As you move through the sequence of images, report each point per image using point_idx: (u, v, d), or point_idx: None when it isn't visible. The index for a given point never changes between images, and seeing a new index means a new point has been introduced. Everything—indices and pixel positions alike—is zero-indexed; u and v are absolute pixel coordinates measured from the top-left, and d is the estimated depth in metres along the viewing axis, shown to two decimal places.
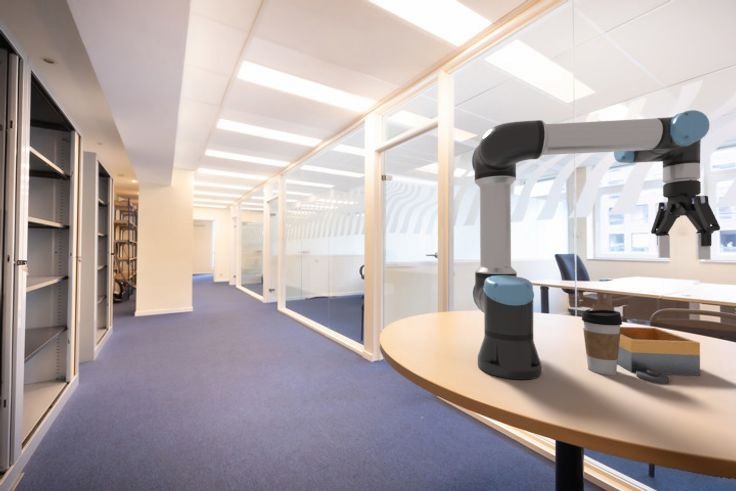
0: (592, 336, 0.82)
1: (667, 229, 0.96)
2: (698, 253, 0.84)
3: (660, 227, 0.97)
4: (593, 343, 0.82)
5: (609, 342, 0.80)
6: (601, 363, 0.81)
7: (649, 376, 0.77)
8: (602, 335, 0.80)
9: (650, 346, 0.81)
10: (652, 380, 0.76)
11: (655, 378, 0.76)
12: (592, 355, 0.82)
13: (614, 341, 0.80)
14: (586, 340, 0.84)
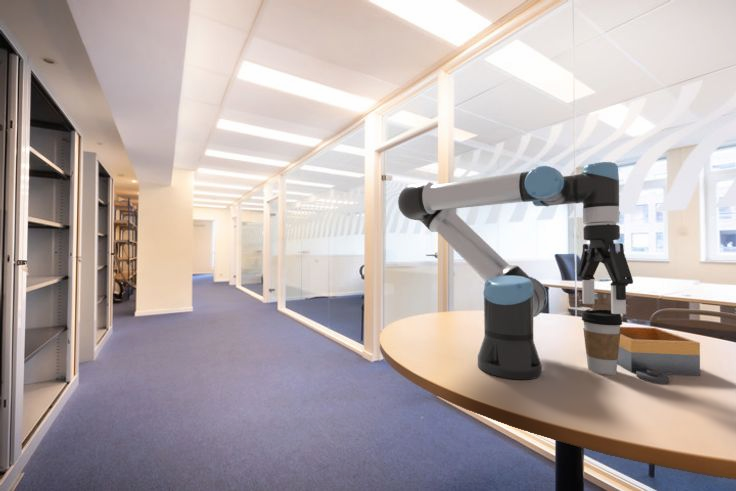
0: (592, 336, 0.82)
1: (591, 273, 0.89)
2: (613, 307, 0.76)
3: (584, 271, 0.89)
4: (593, 343, 0.82)
5: (609, 342, 0.80)
6: (601, 363, 0.81)
7: (649, 376, 0.77)
8: (602, 335, 0.80)
9: (650, 346, 0.81)
10: (652, 380, 0.76)
11: (655, 378, 0.76)
12: (592, 355, 0.82)
13: (614, 341, 0.80)
14: (586, 340, 0.84)
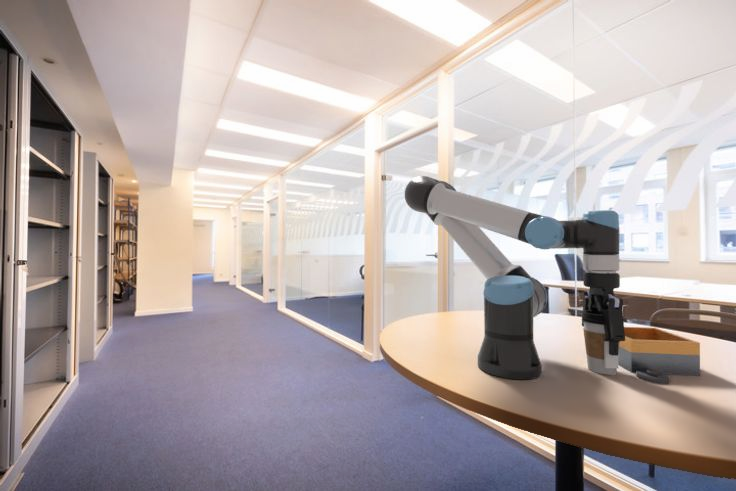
0: (592, 336, 0.82)
1: None
2: (606, 361, 0.79)
3: None
4: (593, 343, 0.82)
5: None
6: (601, 363, 0.81)
7: (649, 376, 0.77)
8: (602, 335, 0.80)
9: (650, 346, 0.81)
10: (652, 380, 0.76)
11: (655, 378, 0.76)
12: (592, 355, 0.82)
13: None
14: (586, 340, 0.84)
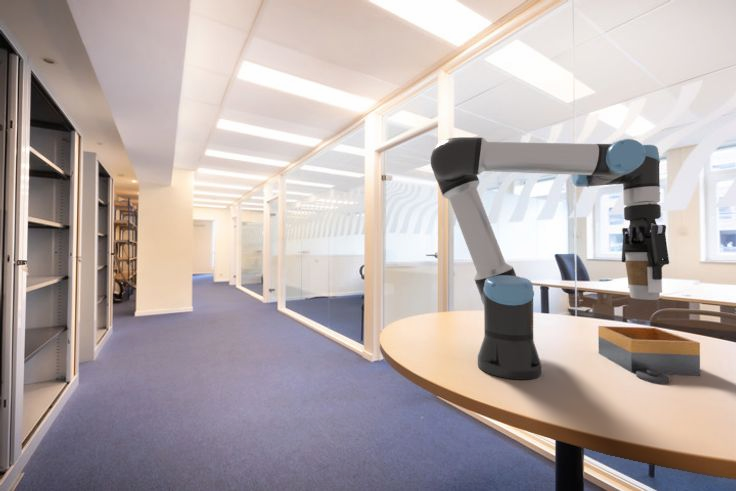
0: (635, 265, 0.86)
1: None
2: (650, 286, 0.83)
3: None
4: (636, 271, 0.86)
5: None
6: (644, 289, 0.85)
7: (649, 376, 0.77)
8: (645, 262, 0.84)
9: (650, 346, 0.81)
10: (652, 380, 0.76)
11: (655, 378, 0.76)
12: (635, 283, 0.86)
13: None
14: (628, 270, 0.88)
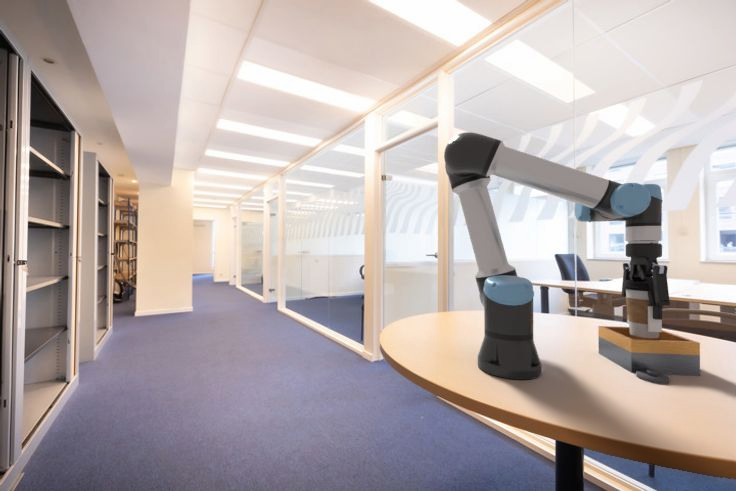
0: (635, 303, 0.86)
1: None
2: (650, 325, 0.84)
3: None
4: (636, 309, 0.87)
5: None
6: (644, 328, 0.86)
7: (649, 376, 0.77)
8: (645, 301, 0.85)
9: (650, 346, 0.81)
10: (652, 380, 0.76)
11: (655, 378, 0.76)
12: (635, 321, 0.87)
13: None
14: (629, 307, 0.88)
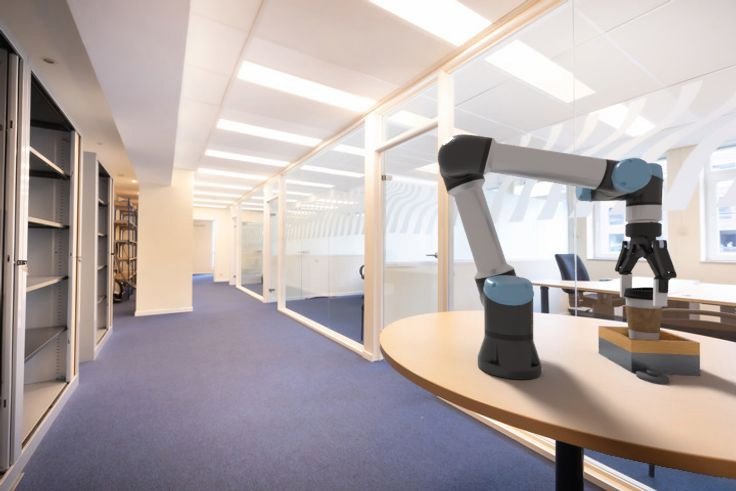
0: (635, 311, 0.87)
1: (630, 268, 0.94)
2: (655, 299, 0.81)
3: (623, 266, 0.94)
4: (636, 317, 0.87)
5: (652, 316, 0.85)
6: (644, 336, 0.86)
7: (649, 376, 0.77)
8: (645, 310, 0.85)
9: (650, 346, 0.81)
10: (652, 380, 0.76)
11: (655, 378, 0.76)
12: (635, 329, 0.87)
13: (657, 315, 0.85)
14: (629, 315, 0.89)
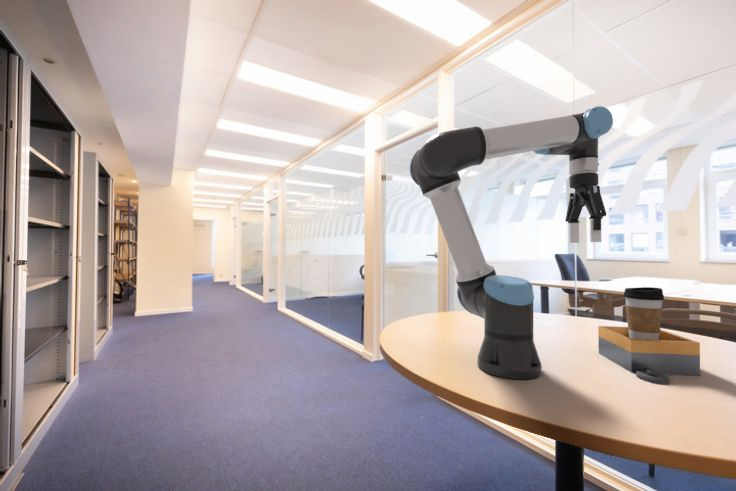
0: (635, 311, 0.87)
1: (576, 217, 1.08)
2: (591, 236, 0.95)
3: (570, 215, 1.08)
4: (636, 317, 0.87)
5: (652, 316, 0.85)
6: (644, 336, 0.86)
7: (649, 376, 0.77)
8: (645, 310, 0.85)
9: (650, 346, 0.81)
10: (652, 380, 0.76)
11: (655, 378, 0.76)
12: (635, 329, 0.87)
13: (657, 315, 0.85)
14: (629, 315, 0.89)
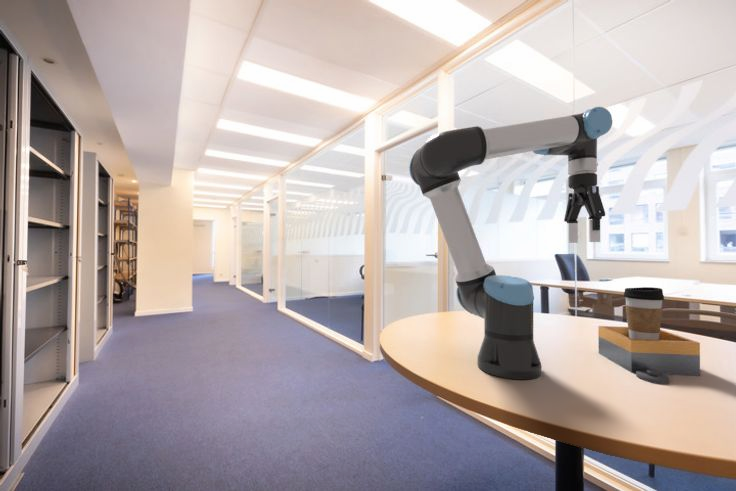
0: (635, 311, 0.87)
1: (575, 217, 1.08)
2: (590, 236, 0.96)
3: (569, 215, 1.09)
4: (636, 317, 0.87)
5: (652, 316, 0.85)
6: (644, 336, 0.86)
7: (649, 376, 0.77)
8: (645, 310, 0.85)
9: (650, 346, 0.81)
10: (652, 380, 0.76)
11: (655, 378, 0.76)
12: (635, 329, 0.87)
13: (657, 315, 0.85)
14: (629, 315, 0.89)
